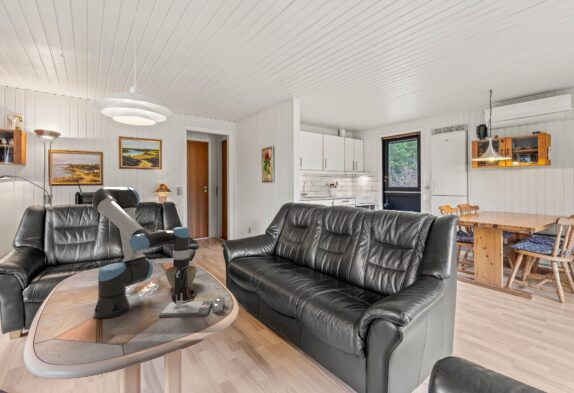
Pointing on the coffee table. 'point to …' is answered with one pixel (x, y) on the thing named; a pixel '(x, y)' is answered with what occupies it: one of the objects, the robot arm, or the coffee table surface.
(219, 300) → the cylinder
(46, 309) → the coffee table surface
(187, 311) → the dial scale
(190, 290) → the mechanical counter
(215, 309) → the cylinder
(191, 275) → the olive beige round bowl
